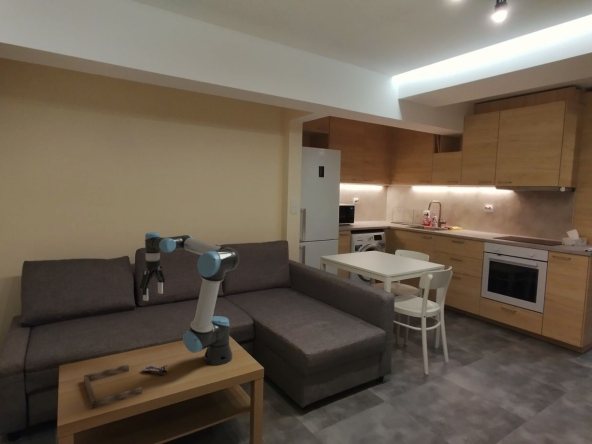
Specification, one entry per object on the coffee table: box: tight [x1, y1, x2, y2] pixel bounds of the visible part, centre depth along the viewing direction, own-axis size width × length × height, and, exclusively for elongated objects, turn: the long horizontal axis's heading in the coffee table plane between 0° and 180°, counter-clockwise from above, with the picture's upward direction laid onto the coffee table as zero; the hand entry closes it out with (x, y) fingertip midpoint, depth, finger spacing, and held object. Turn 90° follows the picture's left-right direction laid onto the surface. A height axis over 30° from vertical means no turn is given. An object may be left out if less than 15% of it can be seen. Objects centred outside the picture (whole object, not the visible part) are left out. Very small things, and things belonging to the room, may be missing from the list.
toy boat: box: [141, 364, 168, 376], centre depth 178 cm, size 13×6×4 cm, turn 71°
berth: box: [83, 363, 143, 410], centre depth 164 cm, size 20×27×3 cm
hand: (153, 296), depth 200 cm, fingers open, 13 cm apart
